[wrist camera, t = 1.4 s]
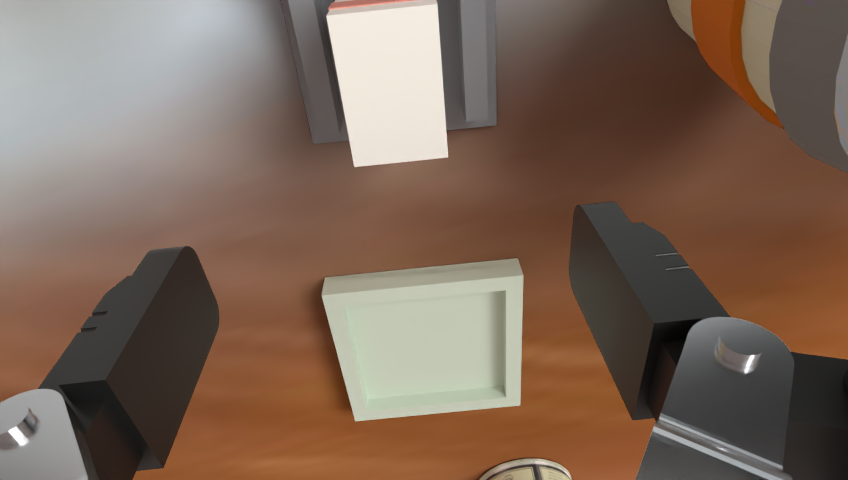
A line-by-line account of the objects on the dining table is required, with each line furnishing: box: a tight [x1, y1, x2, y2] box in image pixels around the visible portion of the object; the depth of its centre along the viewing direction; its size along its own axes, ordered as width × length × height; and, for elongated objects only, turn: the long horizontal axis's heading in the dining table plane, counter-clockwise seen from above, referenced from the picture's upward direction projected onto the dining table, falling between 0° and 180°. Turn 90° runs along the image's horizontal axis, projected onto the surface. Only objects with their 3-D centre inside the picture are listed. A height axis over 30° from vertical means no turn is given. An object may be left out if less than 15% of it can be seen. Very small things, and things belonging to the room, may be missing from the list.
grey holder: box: [281, 0, 497, 144], centre depth 25 cm, size 11×13×5 cm
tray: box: [322, 258, 523, 421], centre depth 40 cm, size 14×14×2 cm
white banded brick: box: [326, 0, 448, 167], centre depth 24 cm, size 4×6×9 cm
